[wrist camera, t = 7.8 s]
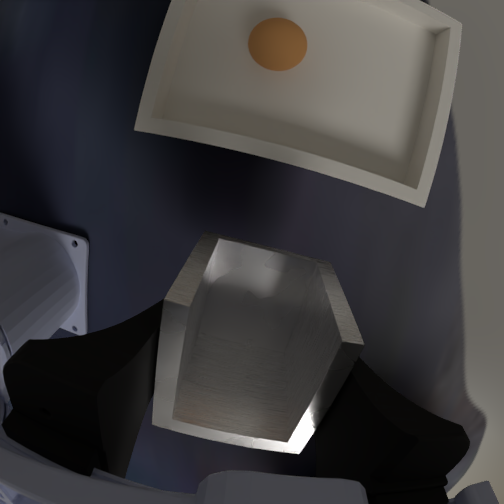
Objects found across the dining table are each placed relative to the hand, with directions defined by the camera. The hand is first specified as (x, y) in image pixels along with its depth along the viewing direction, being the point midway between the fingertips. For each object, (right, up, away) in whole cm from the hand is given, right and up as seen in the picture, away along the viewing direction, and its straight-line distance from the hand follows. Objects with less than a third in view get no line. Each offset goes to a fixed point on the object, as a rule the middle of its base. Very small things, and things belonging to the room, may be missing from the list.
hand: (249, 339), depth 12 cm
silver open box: (0, +1, +3) cm, 3 cm away
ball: (+1, +14, +1) cm, 14 cm away
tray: (+3, +14, +4) cm, 15 cm away
